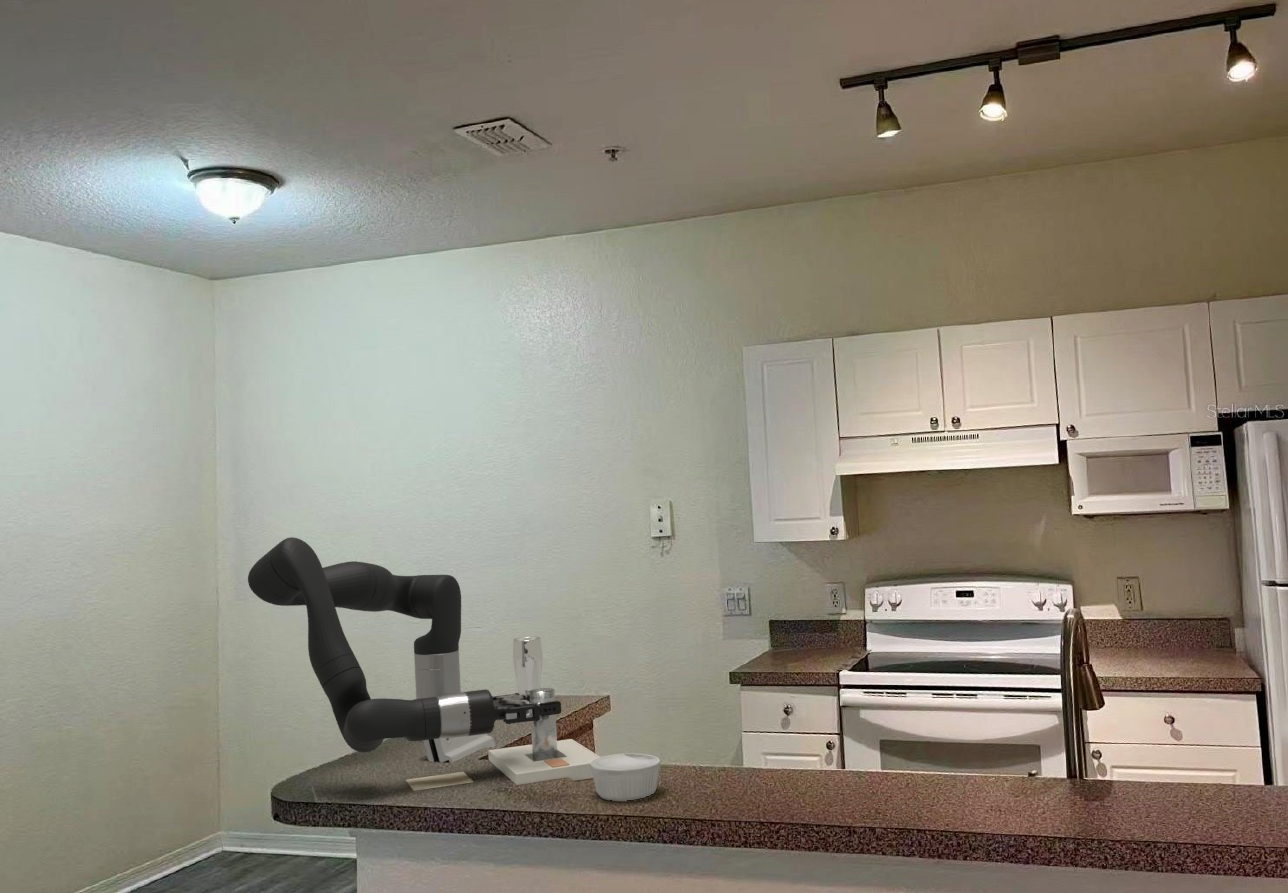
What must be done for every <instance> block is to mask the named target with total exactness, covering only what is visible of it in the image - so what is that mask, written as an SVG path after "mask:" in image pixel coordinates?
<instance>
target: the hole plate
mask: <svg viewBox="0 0 1288 893" xmlns="http://www.w3.org/2000/svg"><path fill="white" fill-rule="evenodd" d="M487 752H488V761H489V762H491V763H492V764H493V766H495V767H496V768H497V769H498V770H499V771H500V772H502V773H503V774H504V775H505V776H506V777H507V778H509V780H510V781H512V782H513V783H514V784H515V785H516V786H518V785H519V786H520V785H525V784H533V783H534V784H535V783H539V782H545V781H553V780H559V779H566V778H569V779H570V780H572V781H573V782H576V781H582V780H590V779H594V778H593V773H592V771H591V769H590V764H591V762H592V761H593V760H595V759H597V758H600V757H601V756H600V755H598V754H596V753H595V752H594V751H592V750H590V749H589V748H587V747H585V746H584V745H582V744H581V743H579V742H578V741H576V740H574V739H572V738H567V739H560V740H557V754H558V758H555V759H548V760H541V761H534V762H533V754H532V743H531V744H527V745H526V744H525V745H518V746H511V747H509V746H508V747H502V748H496V749H489V750H488V751H487Z"/></svg>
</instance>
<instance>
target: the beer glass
mask: <svg viewBox="0 0 1288 893" xmlns="http://www.w3.org/2000/svg"><path fill="white" fill-rule="evenodd" d="M512 660H513V661H512V662H513V667H514V669H513V670H514V673H515V678H516V682H517V693H519V694H520V695H521V694H524V695H530V690H533V689H539V688H541V678H542V671H543V670H542V669H543V668H542V667H543V647H542V641H541V637H539V636H522V637H516V638H513V640H512ZM526 697H527V696H526Z"/></svg>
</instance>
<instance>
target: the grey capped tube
mask: <svg viewBox="0 0 1288 893" xmlns="http://www.w3.org/2000/svg"><path fill="white" fill-rule="evenodd" d="M555 698H556V697H555V689H554V688H552V687H543V688H541V687H540V688H539V689H533V690H530V703H536V702H538V703H542V702H550V701H556V699H555ZM529 713H530V714H533V710H532V709H531V710H529ZM556 715H557V714H555V715H547V716H541V718H540V720H538V721H530V729H531V731H530V732H531V744H532V754H533V762H534V761H541V760H548V759H555V758H558V754H557V741H558V740H557V739H558V736H557V719H556V718H557V717H556Z"/></svg>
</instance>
